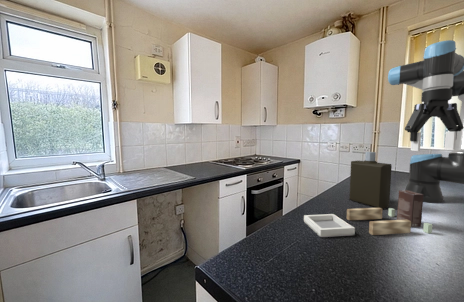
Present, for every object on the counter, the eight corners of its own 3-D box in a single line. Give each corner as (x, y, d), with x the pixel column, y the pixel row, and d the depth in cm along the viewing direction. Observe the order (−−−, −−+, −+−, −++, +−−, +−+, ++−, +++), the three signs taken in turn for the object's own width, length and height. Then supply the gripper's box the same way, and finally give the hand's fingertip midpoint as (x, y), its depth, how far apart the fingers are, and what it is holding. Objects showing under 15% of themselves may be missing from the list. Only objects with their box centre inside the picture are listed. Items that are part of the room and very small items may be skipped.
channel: (378, 217, 83) (379, 207, 82) (410, 232, 69) (411, 221, 69) (346, 218, 81) (346, 209, 81) (372, 235, 68) (373, 223, 68)
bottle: (381, 210, 90) (385, 154, 88) (346, 200, 104) (349, 151, 102) (391, 207, 93) (394, 153, 91) (356, 197, 108) (358, 150, 105)
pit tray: (333, 220, 80) (333, 213, 80) (354, 235, 68) (354, 227, 68) (303, 221, 79) (304, 215, 78) (320, 237, 67) (320, 229, 67)
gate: (391, 215, 84) (391, 208, 84) (431, 233, 69) (432, 224, 69) (388, 215, 84) (388, 208, 84) (427, 233, 69) (428, 224, 69)
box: (422, 226, 74) (424, 194, 73) (410, 227, 73) (412, 194, 72) (406, 219, 80) (408, 189, 79) (395, 220, 79) (397, 190, 78)
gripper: (456, 91, 76) (451, 148, 78) (394, 92, 74) (391, 150, 76) (482, 87, 68) (476, 149, 70) (414, 87, 66) (410, 152, 68)
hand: (432, 150), depth 73 cm, fingers open, 13 cm apart
